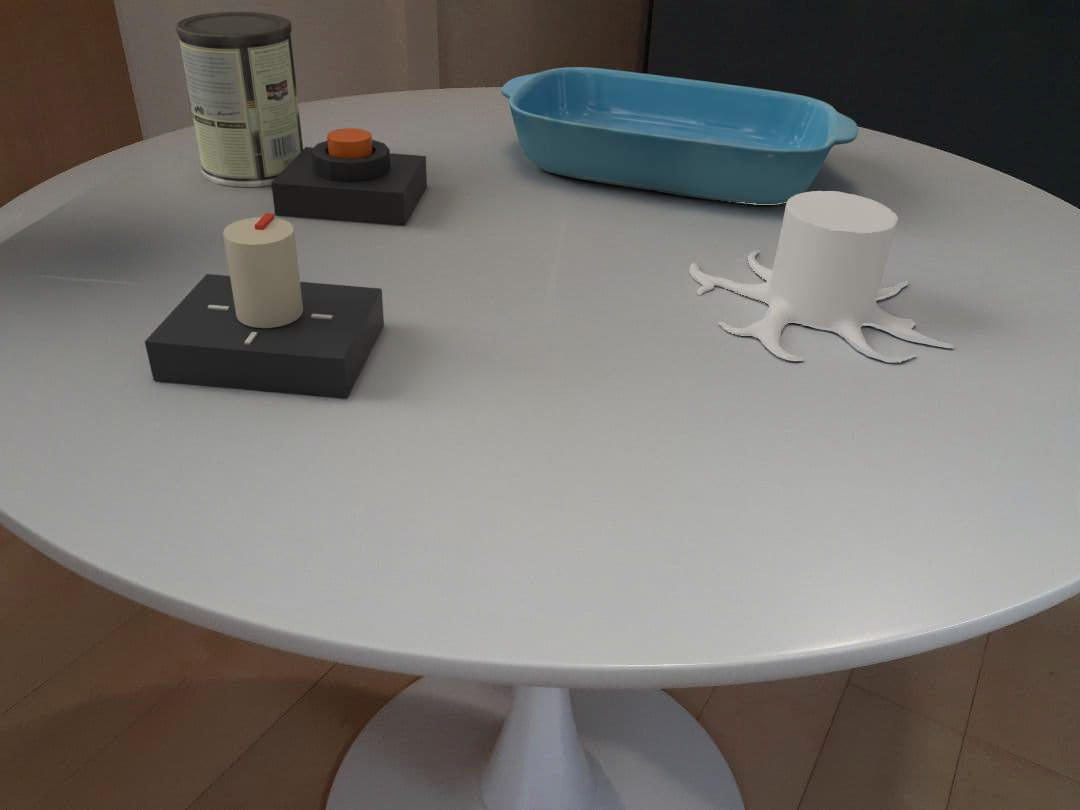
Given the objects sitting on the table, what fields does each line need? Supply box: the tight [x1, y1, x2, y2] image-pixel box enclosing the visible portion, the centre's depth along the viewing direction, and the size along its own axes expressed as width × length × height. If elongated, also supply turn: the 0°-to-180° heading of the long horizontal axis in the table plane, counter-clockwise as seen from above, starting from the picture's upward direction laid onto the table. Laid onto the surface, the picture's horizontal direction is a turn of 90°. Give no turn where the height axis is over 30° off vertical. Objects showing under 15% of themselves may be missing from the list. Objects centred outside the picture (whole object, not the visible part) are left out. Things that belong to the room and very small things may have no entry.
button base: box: [270, 139, 428, 227], centre depth 86 cm, size 12×10×5 cm
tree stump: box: [688, 190, 927, 360], centre depth 71 cm, size 20×19×8 cm
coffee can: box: [175, 11, 304, 188], centre depth 89 cm, size 10×10×14 cm
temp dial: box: [222, 212, 303, 328], centre depth 61 cm, size 4×4×6 cm
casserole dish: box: [501, 66, 859, 204], centre depth 97 cm, size 37×22×7 cm, turn 74°
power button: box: [326, 127, 373, 158], centre depth 85 cm, size 4×4×2 cm
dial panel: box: [144, 273, 385, 399], centre depth 63 cm, size 13×10×3 cm
